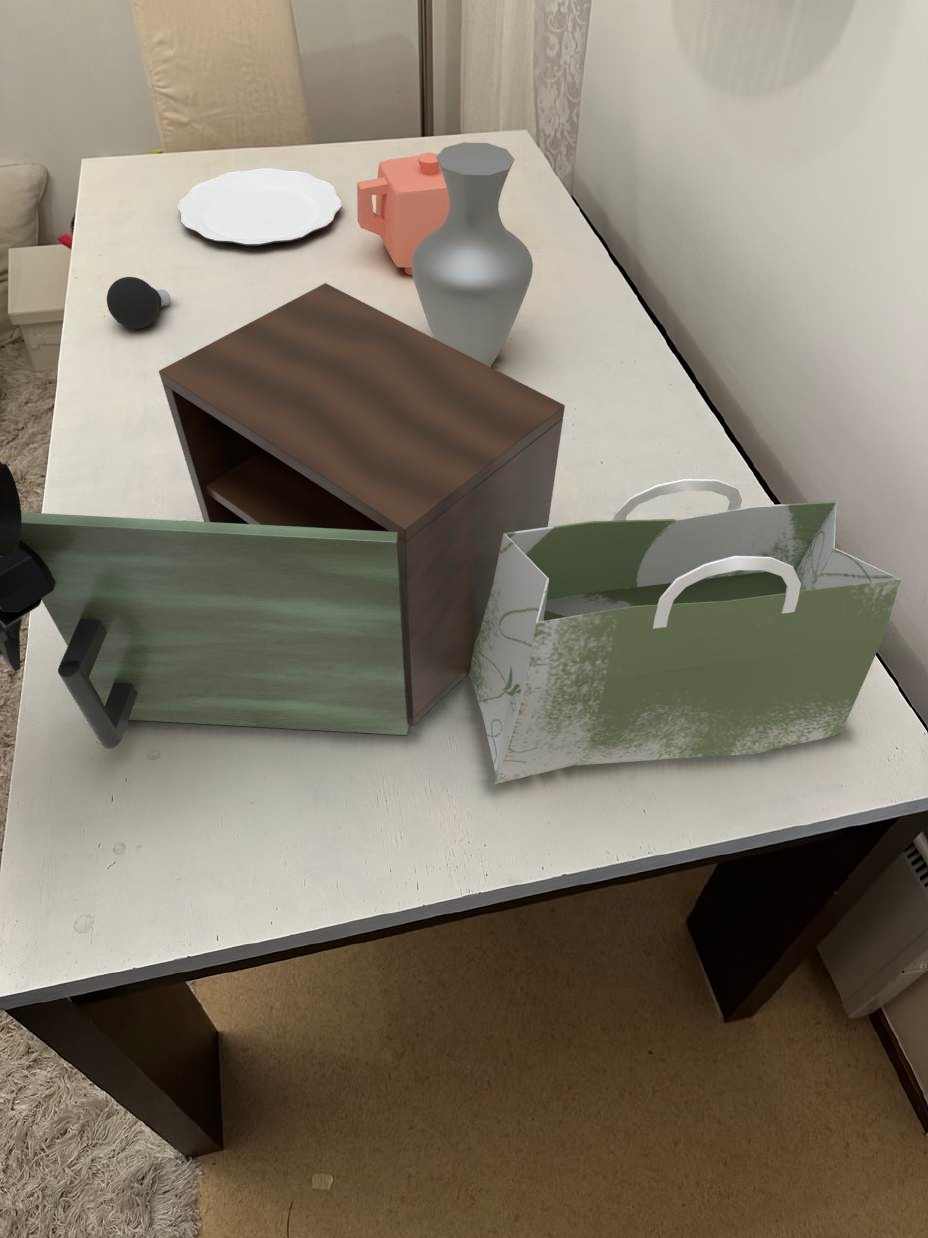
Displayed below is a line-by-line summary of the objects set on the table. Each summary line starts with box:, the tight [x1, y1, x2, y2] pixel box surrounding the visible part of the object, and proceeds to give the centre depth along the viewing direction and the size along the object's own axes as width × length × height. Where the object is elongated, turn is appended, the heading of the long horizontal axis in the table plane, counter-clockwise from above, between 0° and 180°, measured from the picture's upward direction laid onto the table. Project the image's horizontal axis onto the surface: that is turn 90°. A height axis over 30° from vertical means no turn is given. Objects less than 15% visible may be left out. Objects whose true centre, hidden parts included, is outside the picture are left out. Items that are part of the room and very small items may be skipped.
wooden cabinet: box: [158, 282, 566, 726], centre depth 75 cm, size 18×26×24 cm
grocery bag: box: [468, 478, 902, 785], centre depth 68 cm, size 32×14×23 cm, turn 100°
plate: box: [176, 167, 343, 247], centre depth 133 cm, size 25×25×2 cm
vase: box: [412, 141, 534, 368], centre depth 100 cm, size 14×14×25 cm
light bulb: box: [106, 276, 172, 330], centre depth 112 cm, size 6×6×10 cm
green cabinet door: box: [20, 511, 409, 750], centre depth 63 cm, size 6×26×24 cm, turn 87°
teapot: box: [356, 152, 449, 276], centre depth 121 cm, size 22×13×14 cm, turn 108°
